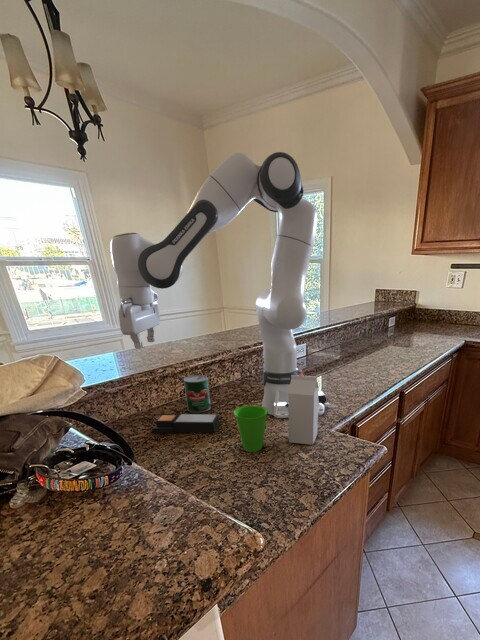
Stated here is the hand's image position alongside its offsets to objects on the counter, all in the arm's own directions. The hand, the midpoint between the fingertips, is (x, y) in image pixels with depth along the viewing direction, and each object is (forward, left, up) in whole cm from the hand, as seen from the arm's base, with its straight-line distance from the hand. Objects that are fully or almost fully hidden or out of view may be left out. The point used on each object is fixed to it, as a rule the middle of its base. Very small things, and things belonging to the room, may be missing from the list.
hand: (145, 345), depth 108 cm
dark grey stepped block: (-13, +10, -23) cm, 28 cm away
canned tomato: (-12, -6, -23) cm, 27 cm away
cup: (-35, +23, -23) cm, 48 cm away
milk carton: (-49, +17, -23) cm, 57 cm away
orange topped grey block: (-7, +10, -23) cm, 26 cm away
